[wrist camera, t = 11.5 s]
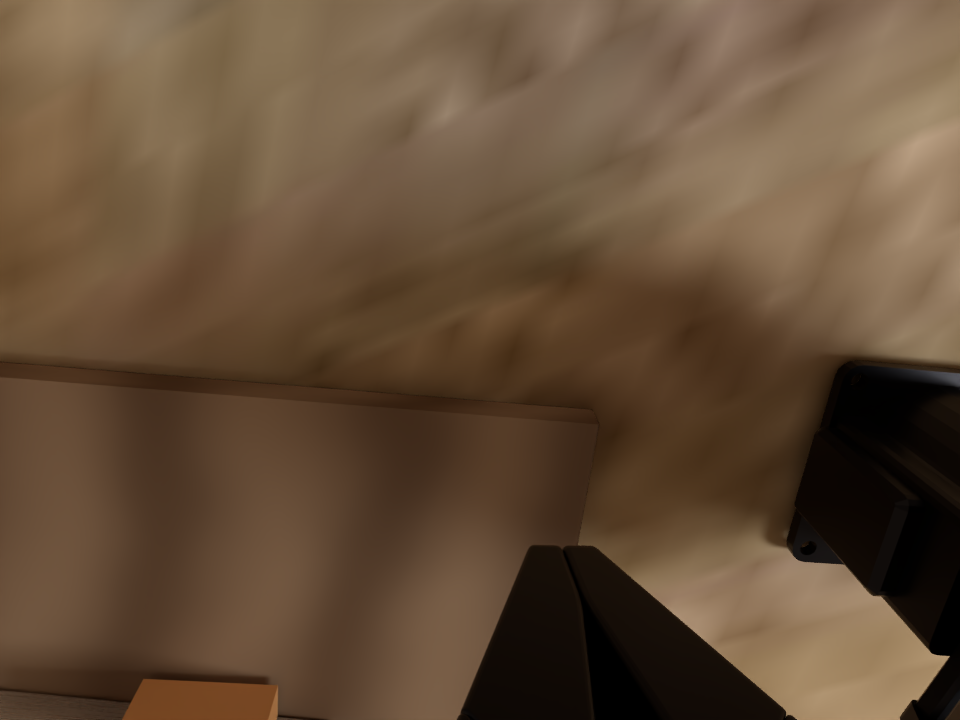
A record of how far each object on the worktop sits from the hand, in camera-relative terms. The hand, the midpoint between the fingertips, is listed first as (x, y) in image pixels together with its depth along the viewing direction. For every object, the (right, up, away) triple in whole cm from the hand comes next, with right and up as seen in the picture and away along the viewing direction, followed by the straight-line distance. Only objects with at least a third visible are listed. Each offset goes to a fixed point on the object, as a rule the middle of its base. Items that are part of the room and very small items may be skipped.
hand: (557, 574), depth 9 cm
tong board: (-12, -8, +14) cm, 20 cm away
